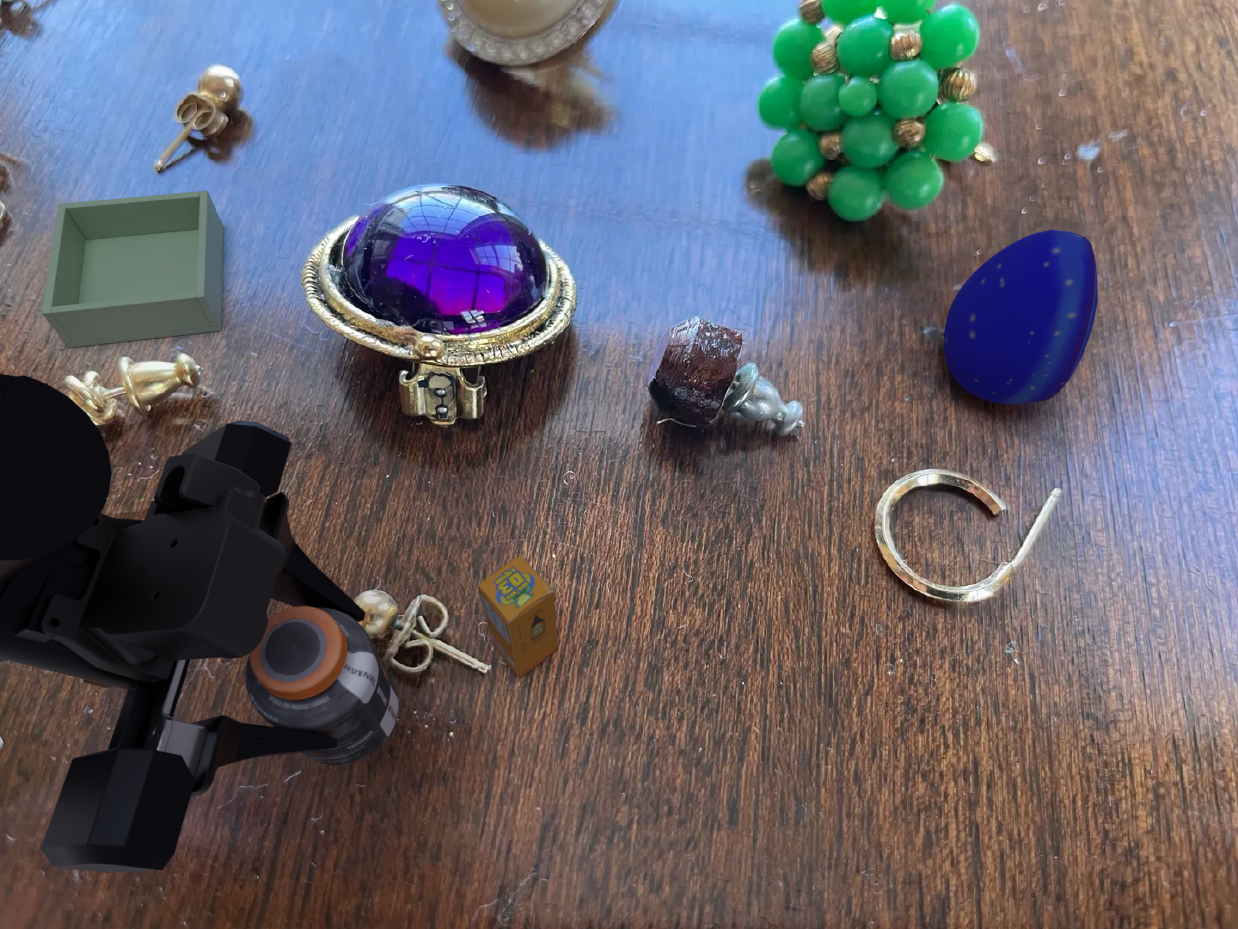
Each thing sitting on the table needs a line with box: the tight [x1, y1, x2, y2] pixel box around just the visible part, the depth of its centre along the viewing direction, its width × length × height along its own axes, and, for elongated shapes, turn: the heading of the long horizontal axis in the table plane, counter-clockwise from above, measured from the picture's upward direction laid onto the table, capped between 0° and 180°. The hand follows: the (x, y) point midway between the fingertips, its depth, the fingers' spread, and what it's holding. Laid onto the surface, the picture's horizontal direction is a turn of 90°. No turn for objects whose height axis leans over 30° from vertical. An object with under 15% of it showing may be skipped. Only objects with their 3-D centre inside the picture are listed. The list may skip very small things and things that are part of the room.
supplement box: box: [477, 555, 559, 678], centre depth 54 cm, size 3×3×10 cm
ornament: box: [943, 229, 1099, 405], centre depth 65 cm, size 11×9×15 cm
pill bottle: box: [244, 606, 399, 767], centre depth 44 cm, size 6×6×11 cm
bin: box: [41, 190, 225, 349], centre depth 69 cm, size 11×11×4 cm
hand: (347, 680), depth 43 cm, fingers closed on pill bottle, 6 cm apart
